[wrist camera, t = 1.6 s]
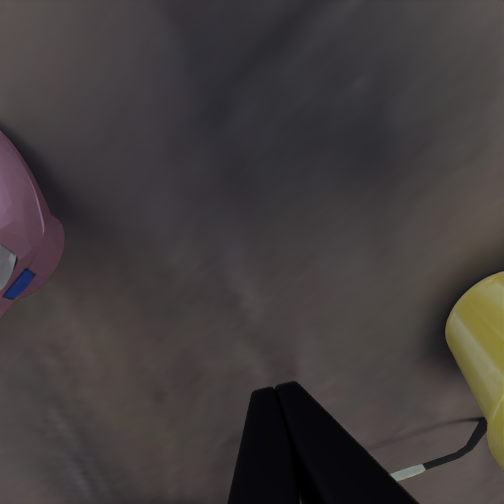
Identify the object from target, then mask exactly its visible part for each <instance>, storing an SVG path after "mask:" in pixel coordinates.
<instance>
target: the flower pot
mask: <svg viewBox="0 0 504 504" xmlns="http://www.w3.org/2000/svg"><path fill="white" fill-rule="evenodd" d="M445 336H446V341H447V344H448V346H449V348H450V350H451V352H452V354H453V356H454V358H455V360H456V362H457V364H458V366H459V368H460V370H461V371H462V373H463V375H464V377H465V379H466V381H467V383H468V385H469V387H470V389H471V391H472V393H473V395H474V397H475V399H476V401H477V403H478V405H479V407H480V409H481V411H482V413H483V415H484V417H485V419H486V421H487V423H488V424H487V440H488V445H489V448H490V451H491V453H492V454H493V456H494V458H495V460H496V461H497V463H498V464H499V466H500V467H501V469H502V470H503V472H504V271H503V272H499V273H496V274H493V275H491V276H489V277H486V278H485V279H483V280H481V281H480V282H478V283H477V284H475V285H474V286H473V287H471V288H470V289H469V290H468V291H467V292H466V293H465V294H464V295H463V296H462V297H461V298H460V299H459V300H458V301H457V303H456V304H455V306H454V307H453V309H452V311H451V312H450V315H449V317H448V319H447V323H446V329H445Z"/></svg>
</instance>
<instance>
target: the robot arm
mask: <svg viewBox="0 0 504 504" xmlns="http://www.w3.org/2000/svg"><path fill="white" fill-rule="evenodd" d="M300 500H301V503H300ZM227 504H419V503H418V502H417V501H416V500H415V499H414V498H413V497H412V496H411V495H410V494H409V493H408V492H407V491H406V490H405V489H404V488H403V487H402V486H401V485H400V484H399V483H398V482H397V481H396V480H395V479H394V478H393V477H392V476H391V475H390V474H389V473H388V472H387V471H386V470H385V469H384V468H383V467H382V466H381V465H380V464H379V463H378V462H377V461H376V460H375V459H374V458H373V457H372V456H371V455H370V454H369V453H368V452H367V451H366V450H365V449H364V448H363V447H362V446H361V445H360V444H359V443H358V442H357V441H356V440H355V439H354V438H353V437H352V436H351V435H350V434H349V433H348V432H347V431H346V430H345V429H344V428H343V427H342V426H341V425H340V424H339V423H338V422H337V421H336V420H335V419H334V418H333V417H332V416H331V415H330V414H329V413H328V412H327V411H326V410H325V409H324V408H323V407H322V406H321V405H320V404H319V403H318V402H317V401H316V400H315V399H314V398H313V397H312V396H311V395H310V394H309V393H308V392H307V391H306V390H305V389H304V388H303V387H302V386H301V385H300V384H299V383H297V382H295V381H291V382H287V383H283V384H279V385H277V386H276V387H275V390H274V388H273V387H266V388H262V389H258V390H254V391H253V392H252V394H251V398H250V402H249V407H248V411H247V416H246V421H245V425H244V430H243V434H242V439H241V444H240V448H239V453H238V457H237V462H236V467H235V471H234V476H233V480H232V485H231V489H230V494H229V499H228V503H227Z"/></svg>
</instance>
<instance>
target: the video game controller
mask: <svg viewBox="0 0 504 504" xmlns="http://www.w3.org/2000/svg"><path fill="white" fill-rule="evenodd" d="M64 244H65V236H64V230H63V226H62V225H61V223H60V221H59V220H58V219H56V218H55V217H54V216H52V215H51V214H50V211H49V208H48V205H47V203H46V201H45V199H44V197H43V195H42V192H41V190H40V188H39V186H38V184H37V182H36V180H35V178H34V176H33V174H32V172H31V170H30V169H29V167H28V165H27V164H26V162H25V160H24V159H23V157H22V156H21V154H20V153H19V152H18V150H17V149H16V147H15V146H14V145H13V143H12V142H11V141H10V140H9V139H8V138H7V137H6V136H5V135H4V133H3V132H2V131H1V130H0V318H1V317H2V316H3V315H4V314H5V312H6V311H7V310H8V309H9V308H10V307H11V306H12V305H13V304H14V303H15V301H16V300H17V299H18V298H21V297H25V296H28V295H30V294H32V293H34V292H35V291H37V290H38V289H39V288H40V287H41V286H42V285H43V284H45V283H46V281H47V280H48V279H49V278H50V276H51V275H52V274H53V272H54V271H55V269H56V267H57V265H58V263H59V261H60V259H61V256H62V253H63V249H64Z"/></svg>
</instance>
